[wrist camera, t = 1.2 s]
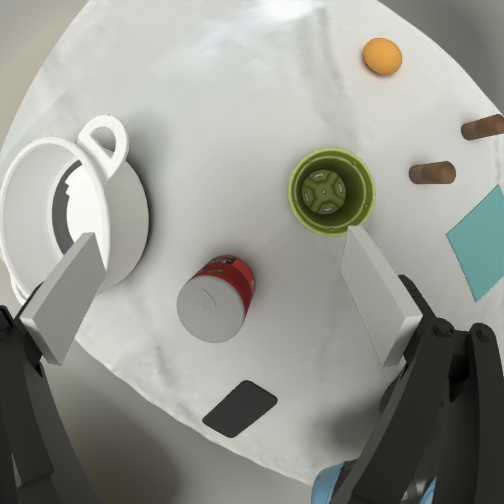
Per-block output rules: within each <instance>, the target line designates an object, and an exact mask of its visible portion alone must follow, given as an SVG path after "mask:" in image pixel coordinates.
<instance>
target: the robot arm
mask: <svg viewBox="0 0 504 504" xmlns="http://www.w3.org/2000/svg"><path fill="white" fill-rule="evenodd" d="M340 272H341V274H342V276H343V278H344V280H345V282H346V284H347V287H348V289H349V291H350V293H351V295H352V298H353V300H354V302H355V304H356V307H357V309H358V311H359V313H360V316H361V318H362V320H363V323H364V325H365V327H366V330H367V332H368V335H369V337H370V339H371V342H372V344H373V347H374V349H375V352H376V354H377V357H378V359H379V362H380V364H381V367H385V366H391V365H396V364H398V363H399V361H400V359H401V358H402V356H403V355H404V358H405V360H406V364H405V365H404V367H403V369H402V370H401V372H400V374H399V375H398V377H397V379H396V380H395V381H394V382H393V383H392V384H391V385H390V386H389V387H388V389H387V390H386V392H385V394H384V396H383V398H382V401H381V413H382V416H381V418H380V420H379V422H378V424H377V426H376V428H375V430H374V432H373V434H372V436H371V437H370V439H369V441H368V443H367V445H366V446H365V448H364V450H363V452H362V453H361V455H360V457H359V458H358V459H355V460H352V461H344V462H343V463H341V464H338V465H335V466H332V467H329V468H326V469H324V470H322V471H321V472H320V473H319V474H318V475H317V477H316V479H315V481H314V484H313V488H312V495H311V504H504V376H503V370H502V365H501V359H500V354H499V349H498V345H497V340H496V336H495V334H494V332H493V331H492V329H491V328H490V327H489V326H487V325H485V324H483V323H475V324H473V325H472V327H471V329H470V330H469V332H467V331H458V330H455V329H454V327H453V325H452V324H451V323H450V322H448V321H446V320H445V319H442V318H437V317H436V316H435V314H434V313H433V311H432V310H431V308H430V307H429V305H428V304H427V302H426V301H425V299H424V298H423V297H422V295H421V293H420V292H419V291H418V289H417V287H416V286H415V284H414V283H413V282H412V281H411V280H410V279H409V278H407V277H406V276H405V275H397V274H396V273H395V271H394V270H393V268H392V267H391V265H390V264H389V263H388V261H387V260H386V258H385V257H384V255H383V254H382V253H381V251H380V250H379V248H378V247H377V246H376V244H375V243H374V242H373V240H372V239H371V238H370V236H369V235H368V233H367V232H366V231H365V229H364V228H363V227H362V226H348V230H347V236H346V242H345V247H344V253H343V258H342V263H341V268H340ZM106 275H107V273H106V270H105V267H104V264H103V260H102V257H101V254H100V250H99V247H98V243H97V239H96V236H95V232H87V233H82V235H81V236H80V237H79V238H78V239H77V240H76V242H75V243H74V244H73V245H72V246H71V248H70V249H69V250H68V251H67V253H66V254H65V255H64V256H63V257H62V259H61V260H60V261H59V263H58V264H57V265H56V266H55V268H54V269H53V270H52V272H51V273H50V274H49V276H48V277H47V278H46V280H45V281H43V282H42V283H41V284H39V285H38V286H37V287H36V288H35V289H34V291H33V292H32V293H31V296H29V298H28V299H27V302H25V303H24V305H23V306H22V308H21V309H20V311H19V313H18V314H17V316H16V317H15V318H14V319H13V318H12V316H11V314H10V313H9V311H8V309H7V307H6V306H4V305H0V504H19V501H20V504H106V503H105V502H104V501H103V500H102V499H101V498H100V497H99V496H98V494H97V493H96V491H95V490H94V488H93V486H92V485H91V483H90V481H89V479H88V477H87V476H86V474H85V472H84V470H83V468H82V466H81V464H80V462H79V460H78V458H77V456H76V454H75V452H74V449H73V447H72V445H71V443H70V441H69V438H68V436H67V434H66V431H65V429H64V426H63V424H62V421H61V419H60V416H59V414H58V411H57V408H56V405H55V403H54V400H53V397H52V394H51V391H50V388H49V384H48V382H47V378H46V375H45V371H44V368H43V365H42V363H41V362H40V358H41V356H42V355H43V356H44V357H45V359H46V361H47V362H48V363H50V364H54V365H59V366H61V365H62V363H63V361H64V359H65V356H66V354H67V352H68V350H69V348H70V345H71V343H72V341H73V339H74V337H75V335H76V333H77V331H78V329H79V326H80V324H81V322H82V320H83V318H84V316H85V315H86V313H87V311H88V309H89V307H90V305H91V303H92V301H93V299H94V297H95V295H96V294H97V292H98V290H99V288H100V286H101V284H102V283H103V281H104V279H105V277H106ZM12 453H13V457H14V460H15V463H16V466H17V469H18V472H19V475H20V478H21V481H22V485H21V486H20V487H18V488H17V489H16V483H15V476H14V469H13V460H12Z"/></svg>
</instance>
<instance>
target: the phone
mask: <svg viewBox="0 0 504 504" xmlns="http://www.w3.org/2000/svg"><path fill="white" fill-rule="evenodd" d="M276 403H277V398H276V397H275V396H274V395H272V394H271V393H269V392H267V391H266V390H264V389H262V388H261V387H259V386H258V385H256V384H254V383H253V382H251V381H248V380H245V381H243V382H241V383H240V384H239V385H238V386H237V387H236V388H235V389H233V390H232V391H231V392H230V394H228V395H227V396H226V397H225V398H224V399H223V400H222V401H221V402H220V403H219V404H218V405H217V406H216V407H215V408H214V409H213V410H212V411H211V412H209V413H208V414H207V415H206V416H205V417H204V418H203V420H202V421H203V423H204V424H205V425H207V426H208V427H210V428H212V429H214V430H215V431H217V432H219V433H221V434H222V435H224V436H226V437H229V438H233V437H235V436H237V435H238V434H239V433H241V432H242V431H243V430H245V429H246V428H247V427H248V426H250V425H251V424H252V423H254V422H255V421H256V420H257V419H259V418H260V417H261V416H262V415H264V414H265V413H266V412H267V411H269V410H270V409H271V408H272V407H273V406H275V405H276Z"/></svg>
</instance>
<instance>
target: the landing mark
mask: <svg viewBox="0 0 504 504" xmlns="http://www.w3.org/2000/svg"><path fill="white" fill-rule="evenodd" d="M446 236H447V238H448V240H449V242H450V244H451V246H452V248H453V250H454V252H455V254H456V256H457V258H458V261H459V263H460V265H461V267H462V270H463V272H464V274H465V277H466V279H467V281H468V284H469V286H470V289H471V291H472V294H473V296H474V299H475V302H477V301H478V300H479V299H480V298H481V297H482V296H484V295H485V294H486V293H487V292H488V291H489V290H490V289H491V288H492V287H493V286H494V285H495V284H496V283H497V282H498V281H499V280H500V279H501V277H502V276H503V275H504V196H503V193H502V191H501V189H500V186H499V185H497V186H496V187H495V188H494V189H493V190H492V191H491V192H490V193H489V194H488V195H487V196H486V197H485V198H484V199H483V200H482V201H481V202H480V203H479V204H478V205H477V206H476V207H475V208H474V209H473V210H472V211H471V212H470V213H469V214H468V215H467V216H466V217H465V218H464V219H463V220H462V221H460V222H459V223H458V224H457V225H456V226H455V227H454V228H453V229H452V230H451V231H449V232H448V233H447V234H446Z"/></svg>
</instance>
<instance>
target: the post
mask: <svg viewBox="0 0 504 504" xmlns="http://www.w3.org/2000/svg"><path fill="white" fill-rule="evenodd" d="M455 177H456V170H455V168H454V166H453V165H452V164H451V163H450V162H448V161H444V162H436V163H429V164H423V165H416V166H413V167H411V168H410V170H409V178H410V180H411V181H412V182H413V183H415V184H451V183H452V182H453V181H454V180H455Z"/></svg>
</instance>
